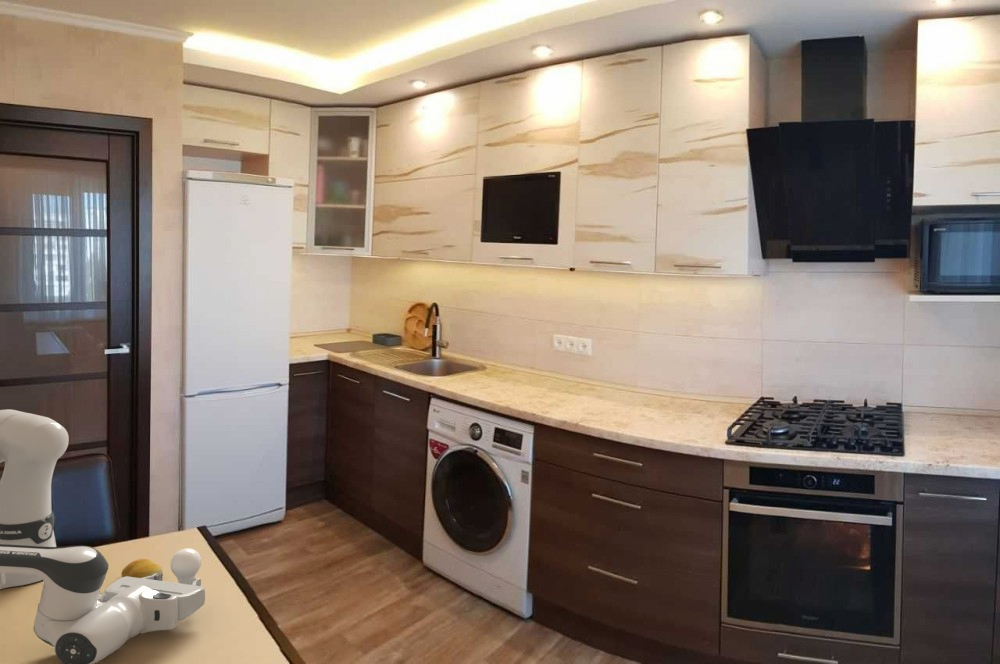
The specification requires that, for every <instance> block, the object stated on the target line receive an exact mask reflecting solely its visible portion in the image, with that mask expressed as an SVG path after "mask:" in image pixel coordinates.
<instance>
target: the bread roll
mask: <svg viewBox="0 0 1000 664" xmlns="http://www.w3.org/2000/svg"><path fill="white" fill-rule="evenodd" d="M155 573H160V574H163V567H162V566H161V565H160V564H158V563H156V562H155V561H153V560H152V559H148V558H139V559H136V560H133V561H131V562H130V563H128V564H127V565H126V566H125V567H124V568H122V571H121V578H122V577H126V576H128V577H135V578H143V577H147V576H152V575H153V574H155Z"/></svg>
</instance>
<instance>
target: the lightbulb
mask: <svg viewBox="0 0 1000 664" xmlns="http://www.w3.org/2000/svg"><path fill="white" fill-rule="evenodd" d="M201 566H202V557H201V554H200V553H199V552H198V550H196V549H194V548H190V547H189V548H187V547H185V548H182V549H180V550H178V551H177V552H175V554H174V555H173V556H172V557H171V560H170V570H171V572H172V573H173V575H174V576H175V577H176V579H177V583H180V584H187V585H191V584H190V581H191V580H192V579H194V578H196V575H197V573H198V572H199V571H200V568H201Z"/></svg>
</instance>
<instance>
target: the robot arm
mask: <svg viewBox="0 0 1000 664" xmlns="http://www.w3.org/2000/svg"><path fill="white" fill-rule="evenodd" d="M69 439H70V438H69V433H68V431H67V429H66V428H65V427H64V426H63V425H61V424H60V423H58V422H57V421H56V420H54V419H52V418H50V417H48V416H45V415H39V414H34V413H30V412H25V411H20V410H16V409H12V408H11V409H8V408H7V409H0V464H1V463H2V462H4V468H3V472H2V476H1V478H0V590H3V589H6V588H12V587H18V586H24V585H30V584H34V583H36V582H41V581H43V586H42V590H41V594H40V595H41V596H40V598H39V602H38V604H37V610H36V614H35V618H34V623H33V632H34V634H35V635H36V636H37V638H38V639H40V640H41V641H42V642H44V643H45V644H47V645H49V646H51V647H53V648H54V653H55V656H56V657H57V659H58V661H59V662H61V664H96V663H99V662H100V661H102V660H103V659H105V658H107V657H108V656H110V655H112V654H113V653H115V651H117V650H118V649H120V648H121V647H123V645H125V643H126V641H128V640H129V639H132V638H134V637H136V636H137V635H139V634H145V633H147V632H148V633H149V632H154V631H169V630H173V629H174V628H176V627H177V626H178V622H179V621H183V620H185V619H187V618H188V617H190V616H191V615H194V614H195V612H197V611H198V610H200V608H201V607H203V606H204V604H205V602H206V590H205V587H204V586H202V579H201V578H197V577H195V578H194V579H192V580H191V581H190V584H191V585H187V584H180V583H179V582H172V581H164V580H163V578H164V577H163V573H162V574H160V573H155V574H153V575H152V576H147V577H143V578H135V577H128V576H126V577H122V576H121V577H120V578H117V579H116V580H115V581H113V582H112V583H111V584H109V586H107V587H106V588H105V590H104V592H103V594H101V595H99V594H100V593H101V589H102V586H103V584H104V582H105V579H106V575H107V573H108V571H109V563H108V560H107V559H106V558H105V556H104V555H103V554H102V552H100V551H99V550H98V549H97V548H95V547H92V546H88V545H67V546H65V545H64V546H57V542H56V537H55V531H54V527H55V516H54V511H53V510H52V479H53V475H54V470H55V467H56V464H57V461H58V459H60V458H61V457H62V456H63V455H64V454H65V452H66V451H67V448H68V447H69Z"/></svg>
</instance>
